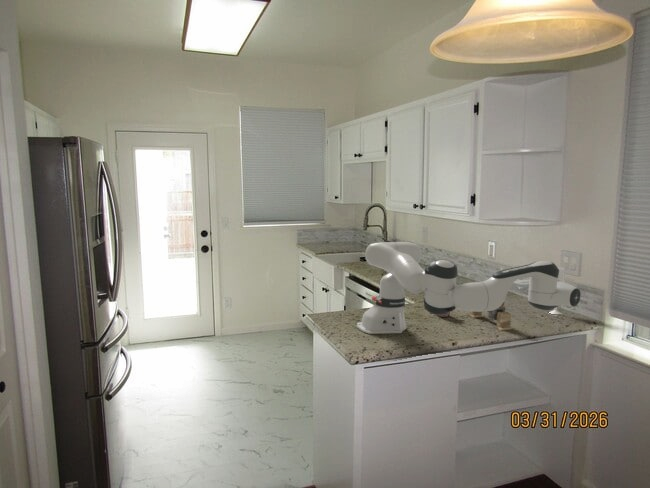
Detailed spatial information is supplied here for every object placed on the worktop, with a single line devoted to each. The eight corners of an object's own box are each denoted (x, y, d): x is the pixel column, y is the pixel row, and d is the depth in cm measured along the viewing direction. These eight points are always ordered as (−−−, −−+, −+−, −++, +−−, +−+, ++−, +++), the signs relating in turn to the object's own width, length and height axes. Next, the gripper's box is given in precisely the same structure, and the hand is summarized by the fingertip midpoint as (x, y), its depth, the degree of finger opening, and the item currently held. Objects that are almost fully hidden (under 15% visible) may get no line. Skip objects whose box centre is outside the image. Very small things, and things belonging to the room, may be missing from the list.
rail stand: (513, 329, 203) (514, 313, 202) (500, 330, 201) (501, 314, 200) (478, 314, 227) (479, 300, 226) (466, 315, 224) (467, 300, 223)
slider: (504, 319, 208) (506, 286, 206) (493, 320, 206) (496, 286, 204) (498, 316, 212) (501, 284, 210) (488, 317, 210) (490, 285, 208)
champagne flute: (545, 312, 232) (549, 267, 229) (554, 311, 235) (558, 266, 232) (555, 316, 226) (560, 269, 223) (565, 314, 229) (569, 269, 226)
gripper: (522, 297, 179) (499, 289, 192) (562, 294, 185) (536, 286, 198) (523, 282, 178) (500, 275, 191) (563, 279, 184) (538, 273, 197)
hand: (519, 281), depth 195 cm, fingers closed
